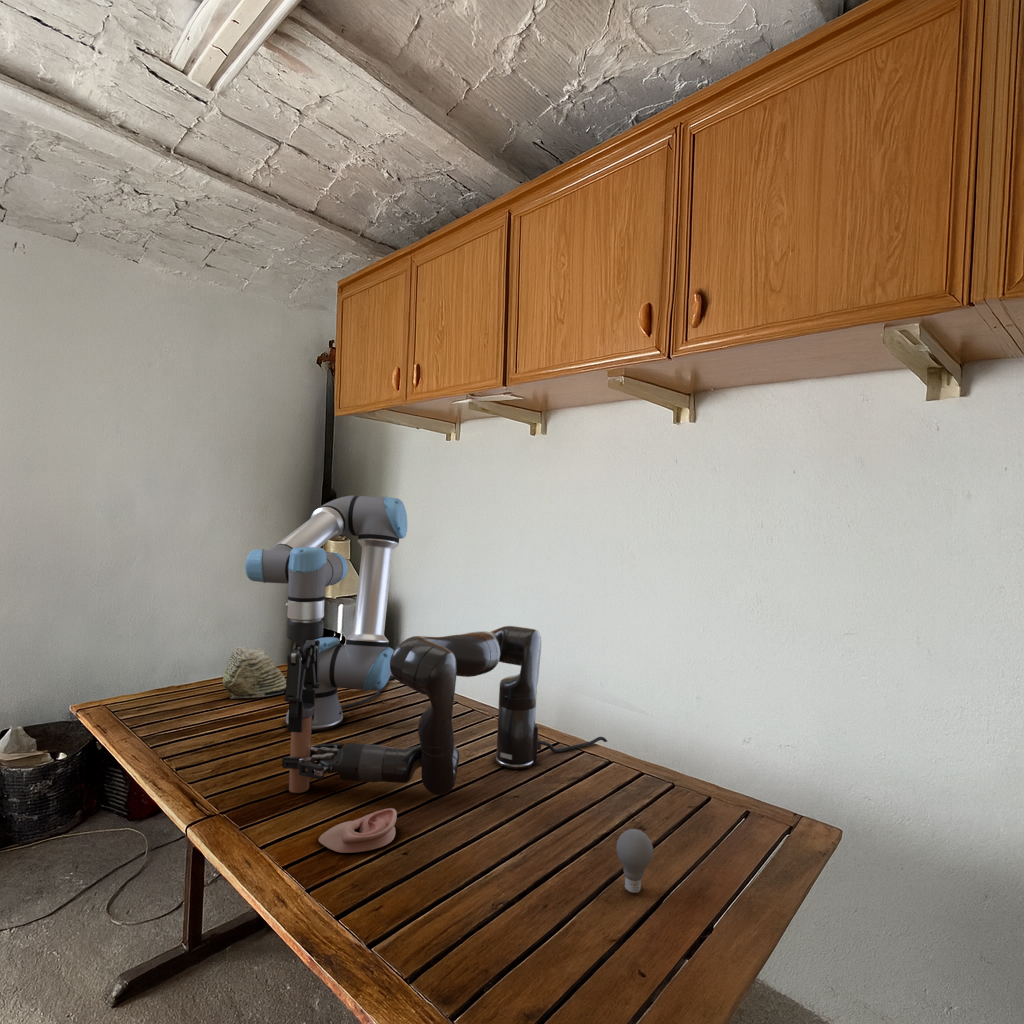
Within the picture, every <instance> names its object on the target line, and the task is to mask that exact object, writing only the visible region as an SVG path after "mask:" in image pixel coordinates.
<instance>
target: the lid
mask: <svg viewBox="0 0 1024 1024" xmlns="http://www.w3.org/2000/svg"><path fill="white" fill-rule="evenodd" d="M313 714H314V705H313V704H311V703H303V718H306V717H310V716H312V715H313Z"/></svg>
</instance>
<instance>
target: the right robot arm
mask: <svg viewBox="0 0 1024 1024" xmlns="http://www.w3.org/2000/svg"><path fill="white" fill-rule="evenodd" d="M393 651H394V652H393V654H392V656H391V659H390V670H391V676H394V677H395V678H394V679H395V680H397V681H398V682H399V683H400V684H401V685H404V686H405V687H408V688H409V689H412V690H414V691H416V692H418V693H419V694H422V695H425V696H426V697H428V700H429V702H430V705H429V706H428V707H427V708H426V709H425V710H424V711H423V713H422V714H421V716H420V718H419V721H418V725H417V734H418V739H419V744H418V745H413V746H410V747H397V746H385V745H381V744H368V743H353V742H348V743H345V745H344V742H343V743H342V742H335V743H318V744H317V743H316V744H315V746H311V757H308V758H300V757H290V756H284V757H283V758H282V760H281V768H283V769H289V770H290V769H299V775H302V776H306V777H310V779H315V780H324V779H325V775H326V774H333V773H334V774H335V773H336V774H338V775H339V778H340V780H342V781H345V782H346V781H347V782H362V783H397V784H407V783H409V782H410V781H411V780H412V779H413V777H414V775H415V773H416V771H417V770H418V769H419V768H421V769H420V771H421V773H420V775H421V781H422V782H421V783H422V785H423V787H424V788H425V789H426V791H427V792H429V793H430V794H432V795H434V796H444V795H447V794H449V793H450V792H451V791H452V790H453V789H454V787H455V785H456V781H457V777H458V776H457V775H458V769H459V764H460V763H459V762H460V752H459V749H458V748H457V747H456V746H455V734H454V725H453V712H454V704H455V695H456V686H457V685H456V684H457V677H463V678H470V677H471V678H472V677H477V676H481V675H485V674H487V673H489V672H492V671H493V670H494V669H495V668H496V667H497V666H498V664H499V663H502V664H506V665H507V664H508V665H514V666H520V671H519V673H518V674H514V675H509V676H506V677H504V678H501V680H500V682H499V690H498V711H497V712H498V713H497V731H496V735H497V736H496V752H495V753H496V754H495V763H496V764H497V765H498V766H500V767H502V768H504V769H509V770H510V769H511V770H524V769H529V768H531V767H532V766H534V765H535V766H536V765H537V763H538V751H541V750H542V746H546V747H548V748H549V749H550V751H551V752H553V753H558V754H559V753H560V754H561V753H565V752H568V751H572V750H575V749H580V748H584V747H588V746H592V745H594V744H596V743H597V742H599V741H603V742H604V743H607V742H608V740H607V738H606V737H604V736H598V737H596V738H594V739H592V740H590V741H587V742H583V743H578V744H572V745H569V746H566V747H562V748H555V747H554V746H553V745H552V744H551V743H550V742H547V741H543V740H541V739H540V738H539V725H538V724H537V723H536V716H537V715H536V713H537V693H538V685H539V678H540V663H541V655H542V636H541V634H540V632H539V630H538V629H536V628H530V627H523V626H515V625H506V626H505V625H504V626H501V627H499V628H496V629H494V630H491V631H486V630H484V631H483V630H481V631H472V632H466V633H461V634H459V633H458V634H452V635H445V636H425V635H413V636H410V637H408V638H406V639H404V640H402V641H401V642H400V643H399V644H398V645H397V646H396V647H395V649H393ZM309 762H310V763H309ZM307 771H308V772H307Z"/></svg>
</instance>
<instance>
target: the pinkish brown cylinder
mask: <svg viewBox="0 0 1024 1024" xmlns="http://www.w3.org/2000/svg"><path fill="white" fill-rule="evenodd" d="M311 731H312V716H310V717H306V718H302V732H301V733H300V732H290V747H289V757H300V758H308V757H311V747H312V732H311ZM309 763H311V762H309ZM307 772H308V771H307ZM310 782H311V778H310V777H306V776H302V775H299V769H290V768H289V773H288V791H289V792H290V793H292V794H300V793H304V792H307V791H308V790H309V789H310Z"/></svg>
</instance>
